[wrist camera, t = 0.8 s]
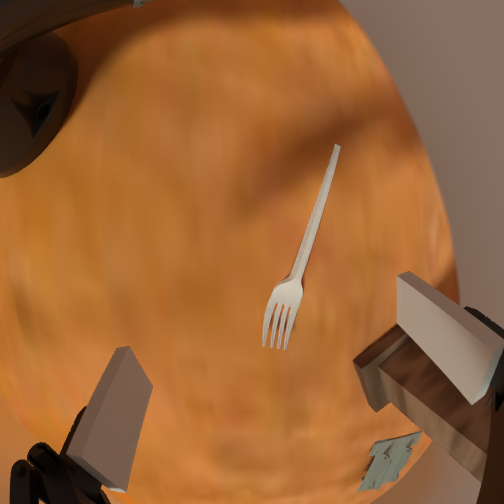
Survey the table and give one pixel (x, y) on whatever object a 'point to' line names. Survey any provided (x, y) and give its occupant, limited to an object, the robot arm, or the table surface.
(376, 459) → the metal bracket
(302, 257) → the fork
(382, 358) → the walnut stand
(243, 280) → the table surface
